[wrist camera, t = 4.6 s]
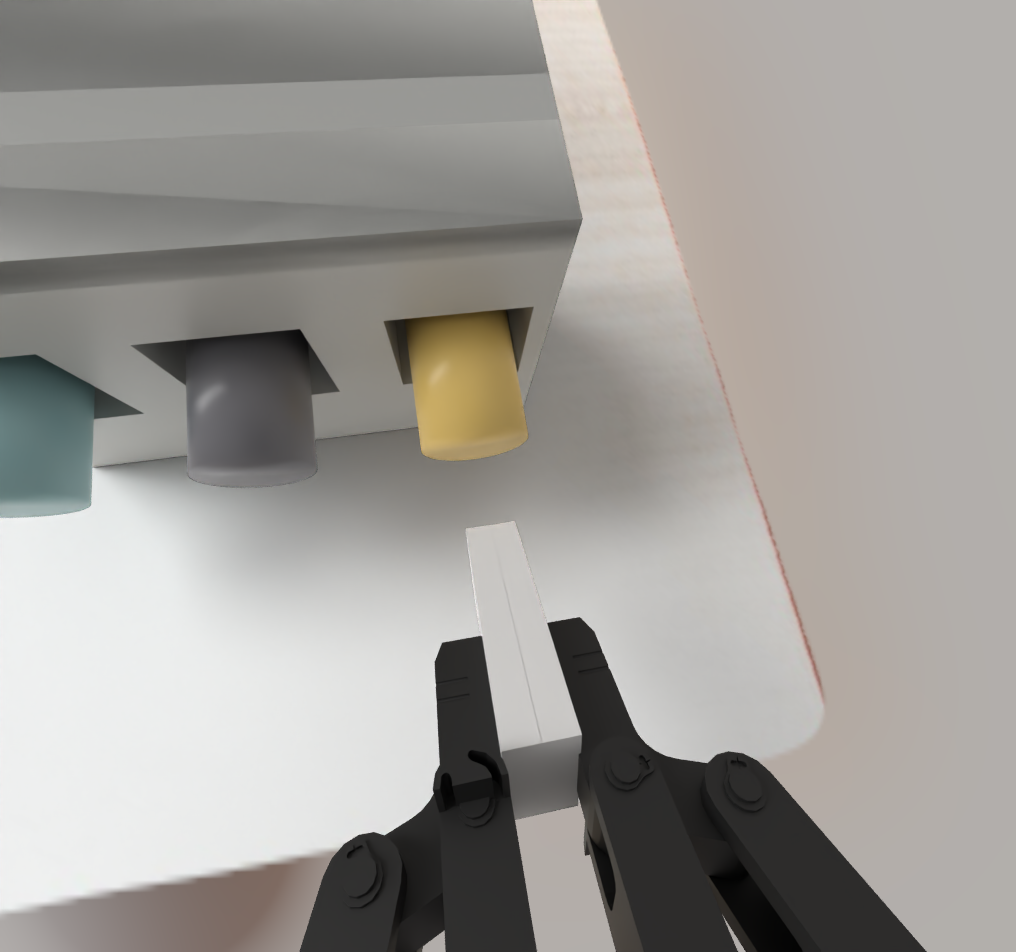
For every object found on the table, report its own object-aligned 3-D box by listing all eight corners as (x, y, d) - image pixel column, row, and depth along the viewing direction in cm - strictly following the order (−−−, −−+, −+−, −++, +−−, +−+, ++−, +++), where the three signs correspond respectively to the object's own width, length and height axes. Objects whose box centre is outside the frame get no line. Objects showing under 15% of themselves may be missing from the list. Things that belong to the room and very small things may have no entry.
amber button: (522, 452, 18) (535, 419, 14) (425, 465, 17) (415, 434, 14) (500, 333, 19) (509, 275, 15) (410, 343, 18) (396, 285, 15)
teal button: (118, 506, 16) (22, 483, 13) (1, 522, 16) (-134, 502, 12) (121, 372, 17) (33, 316, 14) (11, 383, 17) (-109, 328, 13)
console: (521, 414, 24) (582, 218, 11) (91, 467, 21) (-439, 294, 9) (498, 285, 26) (529, -12, 13) (96, 320, 23) (-344, -1, 11)
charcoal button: (330, 478, 17) (295, 449, 13) (224, 492, 16) (159, 466, 13) (320, 352, 18) (285, 294, 14) (220, 362, 18) (159, 305, 14)
